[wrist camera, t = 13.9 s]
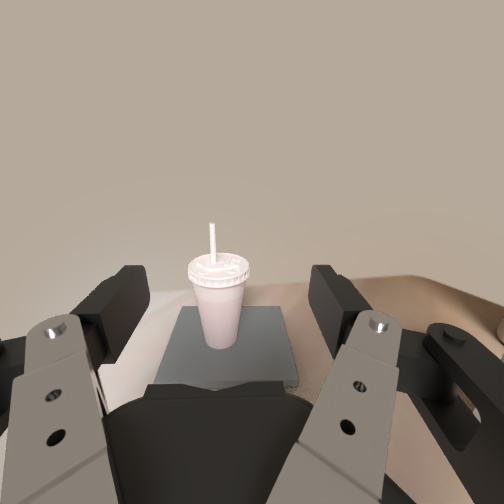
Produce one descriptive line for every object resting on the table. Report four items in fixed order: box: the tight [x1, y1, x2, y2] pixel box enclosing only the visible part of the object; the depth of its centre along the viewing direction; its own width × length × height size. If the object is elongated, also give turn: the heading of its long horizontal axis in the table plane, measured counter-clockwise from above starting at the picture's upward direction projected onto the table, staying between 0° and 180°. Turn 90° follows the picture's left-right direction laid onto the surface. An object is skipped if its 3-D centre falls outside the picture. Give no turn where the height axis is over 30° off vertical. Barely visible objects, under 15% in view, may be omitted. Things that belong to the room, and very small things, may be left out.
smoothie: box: [188, 223, 250, 349], centre depth 25 cm, size 6×6×14 cm
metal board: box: [154, 306, 299, 388], centre depth 28 cm, size 14×12×1 cm
